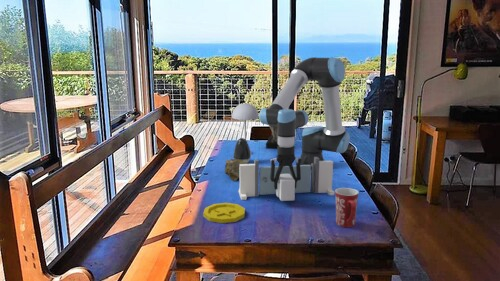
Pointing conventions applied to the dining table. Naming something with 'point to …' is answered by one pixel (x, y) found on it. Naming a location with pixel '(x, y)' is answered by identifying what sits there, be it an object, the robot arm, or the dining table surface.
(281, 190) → the white rectangular block
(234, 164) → the rock
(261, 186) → the door
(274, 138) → the coral
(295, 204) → the dining table surface
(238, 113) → the lamp
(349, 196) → the mug
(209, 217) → the decorative disc
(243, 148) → the dark grey rounded lump
